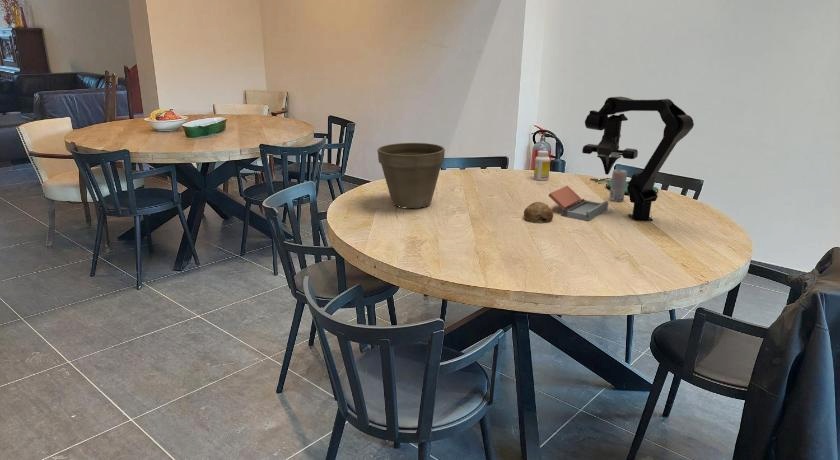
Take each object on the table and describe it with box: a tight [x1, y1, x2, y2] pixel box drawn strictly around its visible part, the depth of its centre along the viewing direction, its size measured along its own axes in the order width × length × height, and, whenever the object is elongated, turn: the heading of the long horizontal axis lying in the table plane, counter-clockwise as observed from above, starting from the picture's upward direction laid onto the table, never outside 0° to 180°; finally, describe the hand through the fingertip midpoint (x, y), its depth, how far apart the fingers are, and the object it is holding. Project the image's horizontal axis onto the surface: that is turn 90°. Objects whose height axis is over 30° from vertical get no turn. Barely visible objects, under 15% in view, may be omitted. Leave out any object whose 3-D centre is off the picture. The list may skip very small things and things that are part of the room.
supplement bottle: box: [533, 150, 551, 182], centre depth 252 cm, size 7×7×13 cm
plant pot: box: [377, 142, 446, 209], centre depth 210 cm, size 25×25×22 cm
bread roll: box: [523, 201, 554, 224], centre depth 196 cm, size 10×10×8 cm
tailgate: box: [548, 185, 582, 210], centre depth 208 cm, size 2×15×8 cm
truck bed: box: [567, 200, 609, 222], centre depth 203 cm, size 8×18×3 cm, turn 142°
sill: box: [561, 198, 587, 218], centre depth 207 cm, size 2×18×2 cm, turn 141°
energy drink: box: [608, 168, 628, 203], centre depth 219 cm, size 5×5×12 cm
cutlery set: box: [590, 177, 659, 195], centre depth 241 cm, size 20×30×2 cm, turn 15°
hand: (606, 174), depth 206 cm, fingers closed
